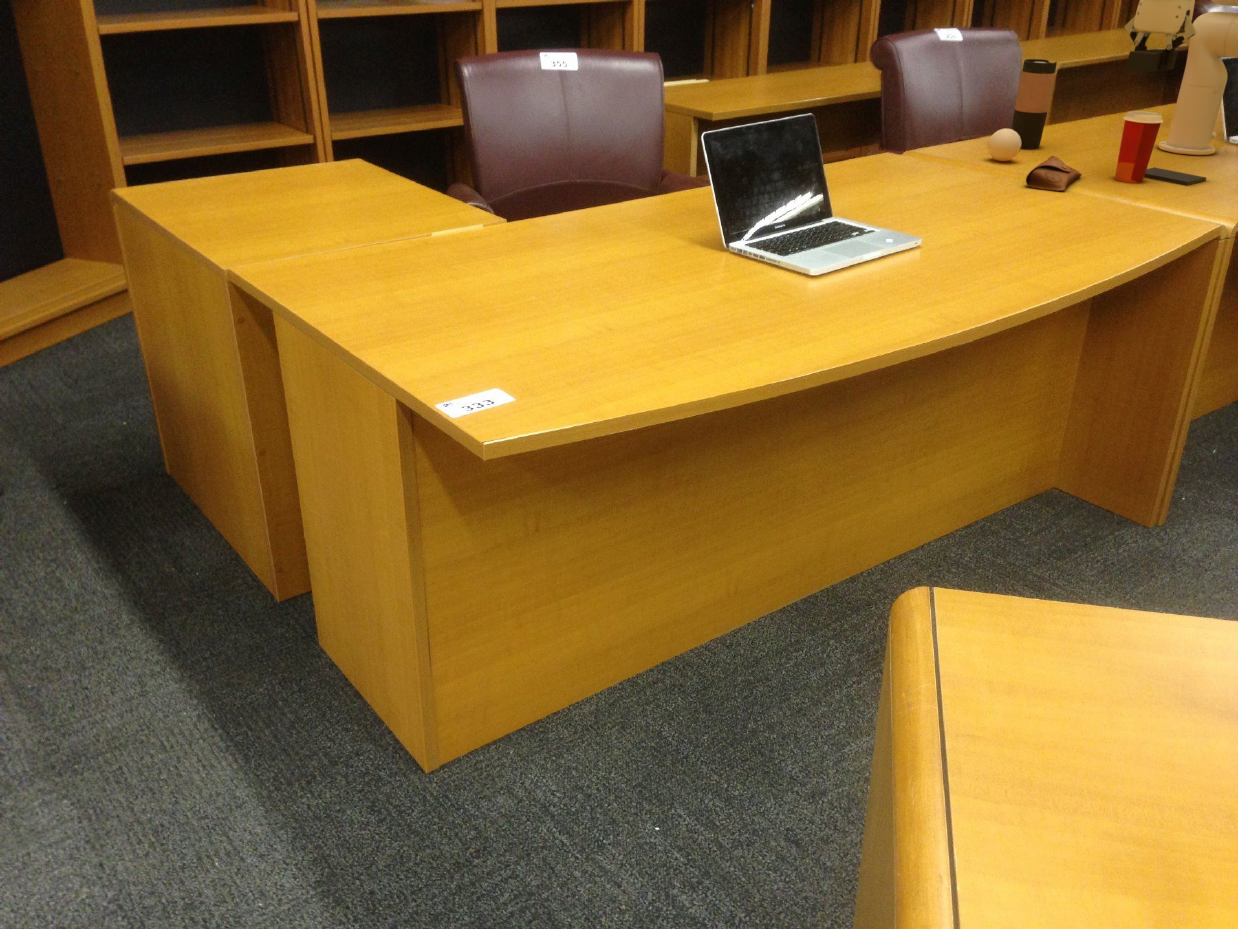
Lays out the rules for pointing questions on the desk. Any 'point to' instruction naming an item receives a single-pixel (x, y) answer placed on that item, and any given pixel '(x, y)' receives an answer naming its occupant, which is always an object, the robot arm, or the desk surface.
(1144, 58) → the black block
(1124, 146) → the paper cup
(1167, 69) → the robot arm
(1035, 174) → the sunglasses case
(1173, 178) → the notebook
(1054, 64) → the travel mug
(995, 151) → the cream ovoid piece
